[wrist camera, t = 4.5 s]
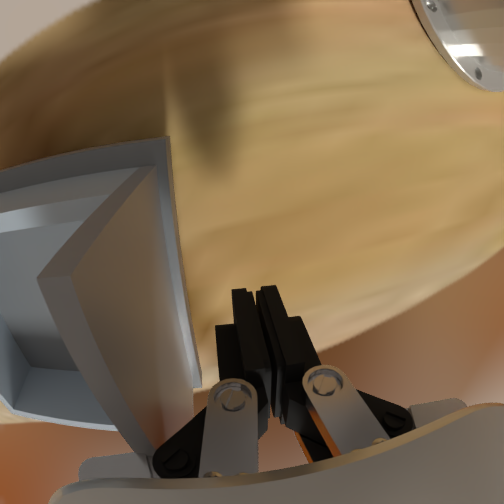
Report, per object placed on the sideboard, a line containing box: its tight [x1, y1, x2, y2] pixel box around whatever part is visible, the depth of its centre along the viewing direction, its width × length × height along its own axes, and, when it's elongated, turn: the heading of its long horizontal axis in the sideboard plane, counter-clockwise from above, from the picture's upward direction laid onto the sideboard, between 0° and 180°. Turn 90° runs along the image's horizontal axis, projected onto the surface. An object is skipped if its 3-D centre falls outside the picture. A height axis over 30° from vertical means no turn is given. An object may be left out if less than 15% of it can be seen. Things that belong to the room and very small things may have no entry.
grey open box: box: [0, 136, 202, 456], centre depth 10 cm, size 12×13×12 cm
